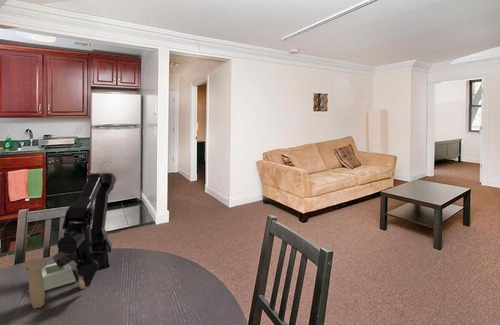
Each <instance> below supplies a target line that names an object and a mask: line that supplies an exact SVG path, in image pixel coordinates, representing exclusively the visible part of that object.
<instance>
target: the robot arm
mask: <svg viewBox="0 0 500 325" xmlns="http://www.w3.org/2000/svg"><path fill="white" fill-rule="evenodd" d="M116 178H117V177H116V175H114V173H113V172H96V173H95V172H92V173H90V174H88V176H87V181H86V183H85V186H84V188H83V190H82V191H81V193H80V196H79V197H78V199H76V200H74V201H72V202H71V204H70V205H69V206H68V208H67V209H66V210H65V215H64V219H63V224H62V229H61V230H66V231H64V232H63V236H62V237H61V238H60V239H59V240H58V242H57V248H58V250H59V252H57V253H56V254H54V255H53V258H52V259H53V261H54V263H56V264H57V266H58V267H59V268H61V267H63V266H65V265H66V264H68V263H69V264H70V263H71V262H74V263H75V264H76V265H75V270H76V274H77V276H78V277H79V276H82V277H83V280H84V284H85V287H88V286H89V285H90V286H91V283H92V282H93V279H94V277H95V274H96V273H97V272H98V271H100V270H102V269H106V268H109V267H111V266H110V263H109V254H110V253H111V252H112V247H113V246H112V242H111V241H110V240H109V235H108V233H107V231H106V219H107V210H108V201H109V194H110V193H111V192H112V191H113V190H114V188H115V184H116V181H117V179H116ZM93 204H94V206H93Z"/></svg>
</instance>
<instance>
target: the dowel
mask: <svg viewBox="0 0 500 325" xmlns="http://www.w3.org/2000/svg"><path fill="white" fill-rule="evenodd" d="M78 285H79V286H78V287H79V290H87V289H88V288H90V287H91V284H90V285H89V286H88V287H85V284H84V280H83V277H82V276H78Z"/></svg>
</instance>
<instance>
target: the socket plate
mask: <svg viewBox="0 0 500 325" xmlns="http://www.w3.org/2000/svg"><path fill="white" fill-rule="evenodd" d="M72 269H73V268H72V267H71V265H70V263H68V264H66V265H65V266H63V267H61V268H59V267H58V266H57V264H56V263H55V262H54V263H51V264H46V266H45V267H44V268H42V277H43V282H44V289H45V291H47V290H51V289H52V290H53V289H54V288H58V287H62V286H65V285H68V284H72V283H75V282H76V281H77V280H76V277H75V274H74V272H73V270H72Z"/></svg>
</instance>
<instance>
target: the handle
mask: <svg viewBox="0 0 500 325" xmlns="http://www.w3.org/2000/svg"><path fill="white" fill-rule="evenodd" d="M46 265H47V261H46V260H45V259H43V258H34V259H32V258H31V259H29V260H25V261H24V262H23V263H22V269H23V270H24V271H26V272H28V293H29V300H30V303H31V306H32V308H33V309H39V308H42V307H43V306H44V305H45V298H46V294H45V293H46V290H45V289H44V282H43V277H42V268H44V267H45V266H46Z"/></svg>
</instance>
